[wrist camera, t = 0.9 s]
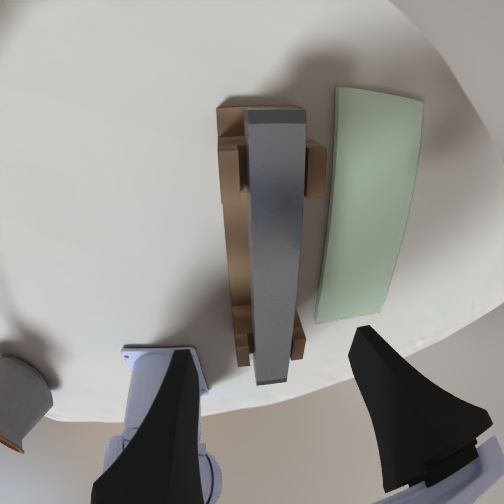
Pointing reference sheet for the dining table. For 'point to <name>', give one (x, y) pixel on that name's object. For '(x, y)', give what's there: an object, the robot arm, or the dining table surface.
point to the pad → (367, 199)
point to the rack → (237, 222)
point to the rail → (274, 231)
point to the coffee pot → (21, 400)
